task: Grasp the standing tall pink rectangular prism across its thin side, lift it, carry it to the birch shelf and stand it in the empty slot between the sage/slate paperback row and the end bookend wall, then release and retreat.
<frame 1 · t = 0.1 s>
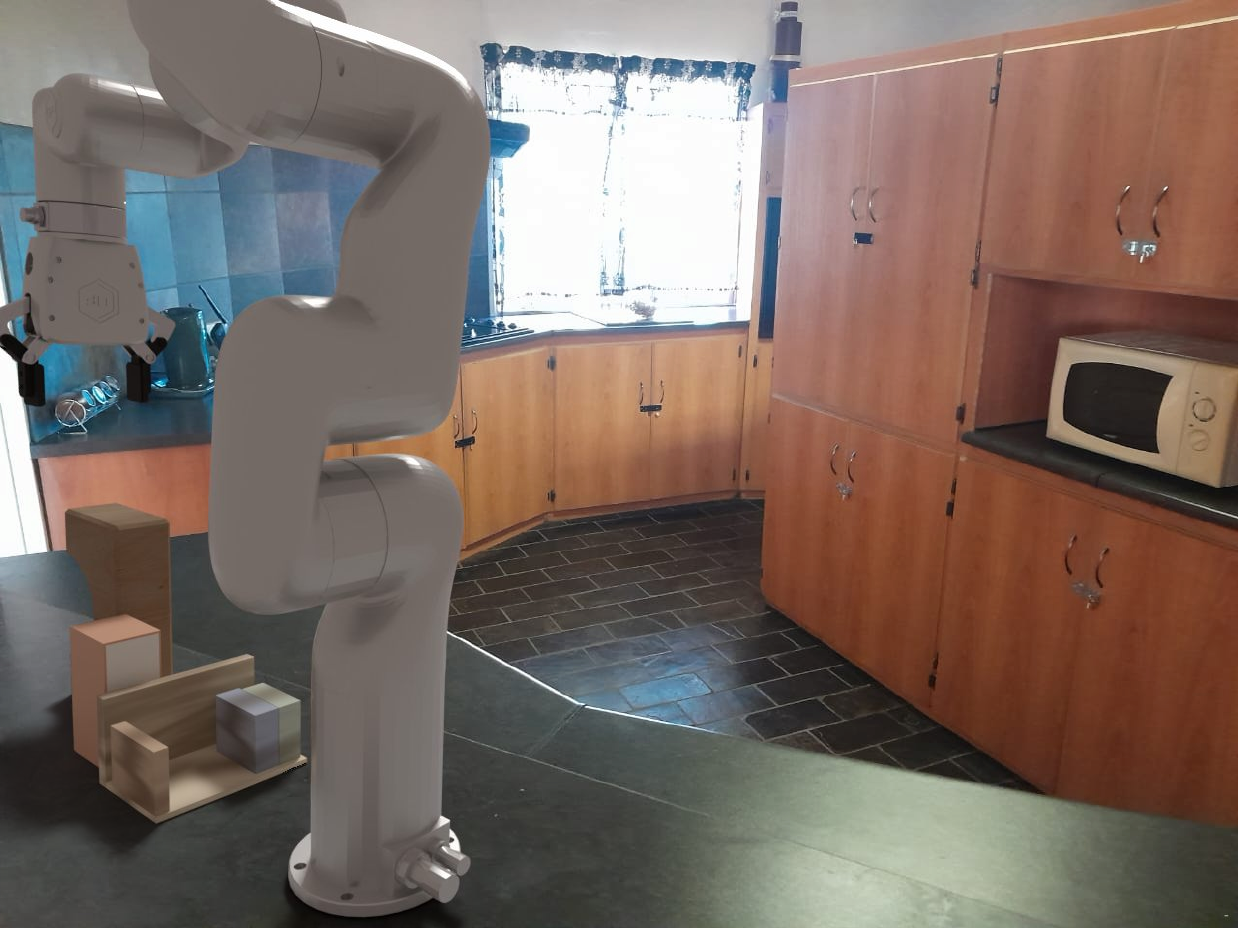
hand: (88, 403, 91), 31 cm above the countertop, fingers open, 9 cm apart
shelf: (213, 773, 82), on the countertop
decorative block: (122, 702, 96), on the countertop
tall pink rectangular prism: (118, 752, 86), on the countertop
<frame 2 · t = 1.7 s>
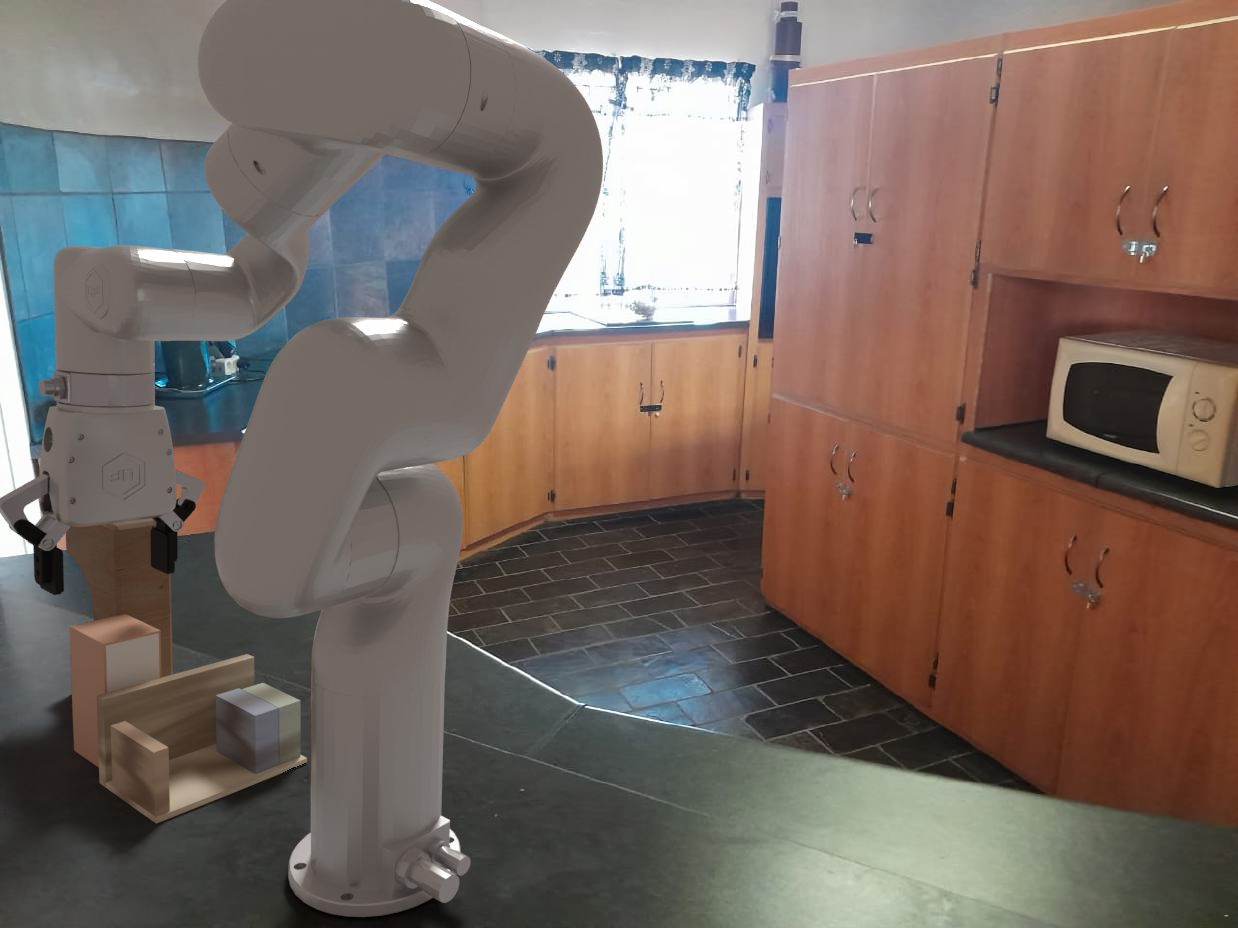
hand: (109, 580, 83), 16 cm above the countertop, fingers open, 9 cm apart
nothing on the countertop moved.
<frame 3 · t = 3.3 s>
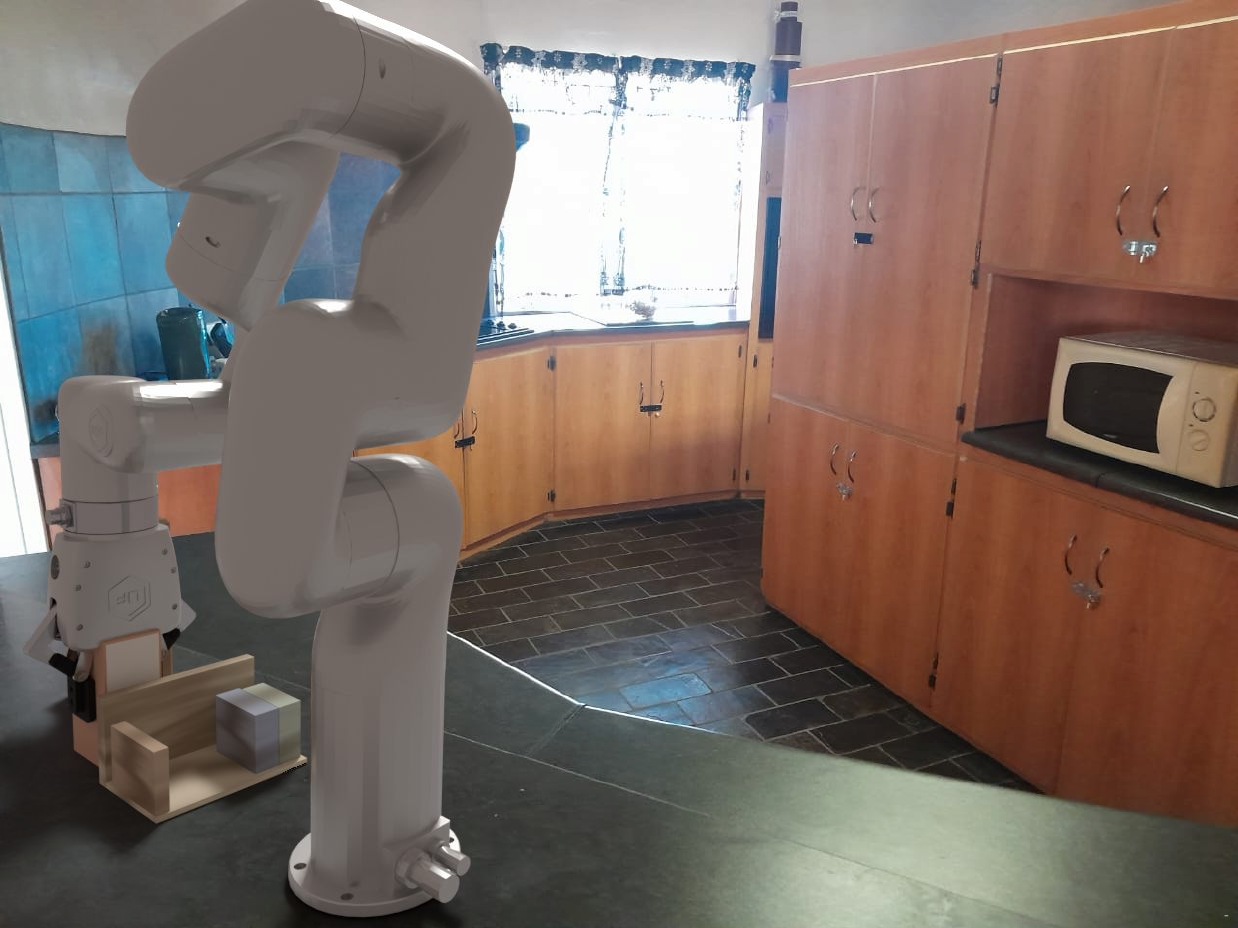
hand: (117, 706, 85), 4 cm above the countertop, fingers closed on tall pink rectangular prism, 5 cm apart
tall pink rectangular prism: (118, 751, 86), on the countertop, touching gripper
everything else where it was.
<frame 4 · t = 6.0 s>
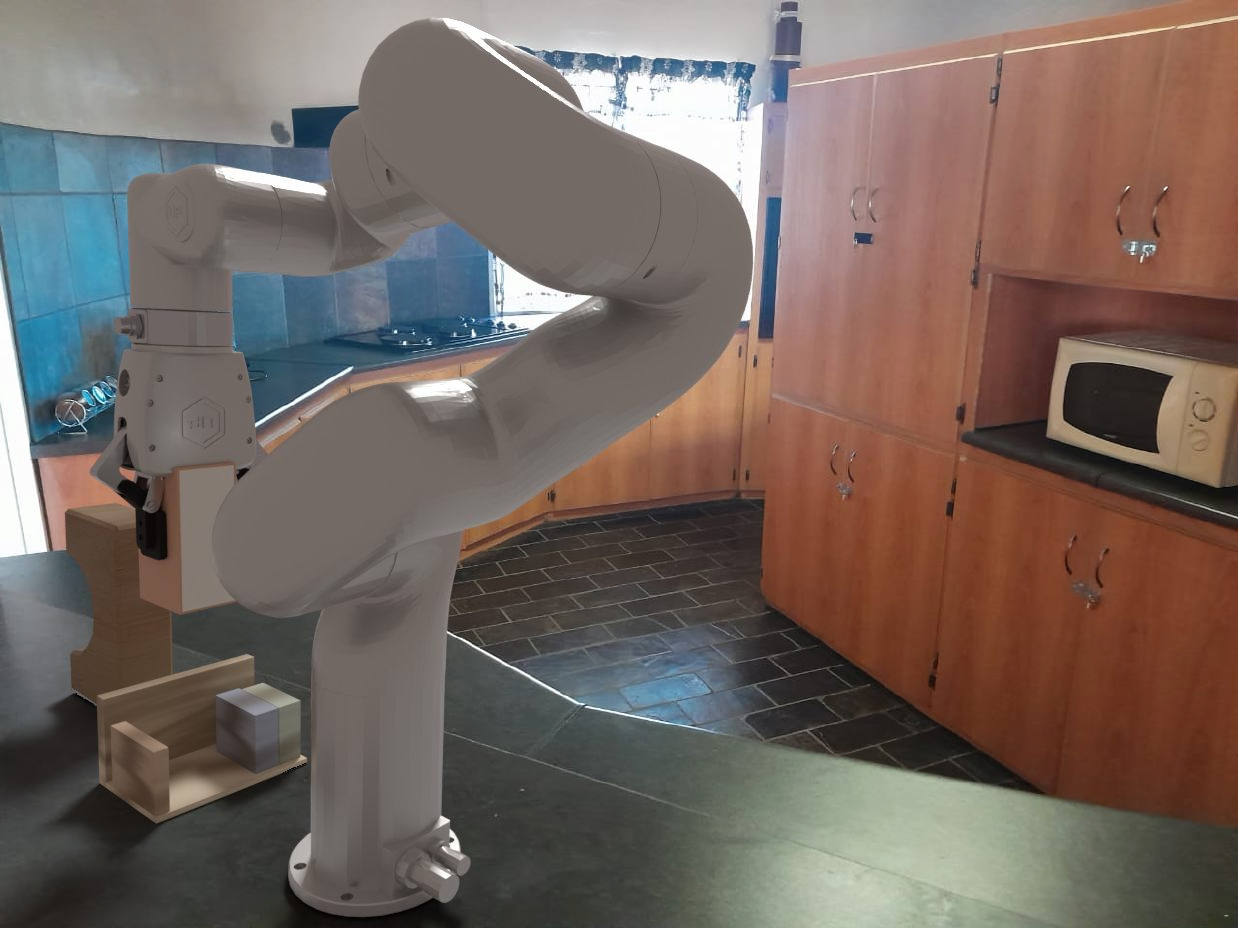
hand: (187, 548, 78), 21 cm above the countertop, fingers closed on tall pink rectangular prism, 5 cm apart
tall pink rectangular prism: (188, 599, 78), point 17 cm above the countertop, touching gripper
everything else where it was.
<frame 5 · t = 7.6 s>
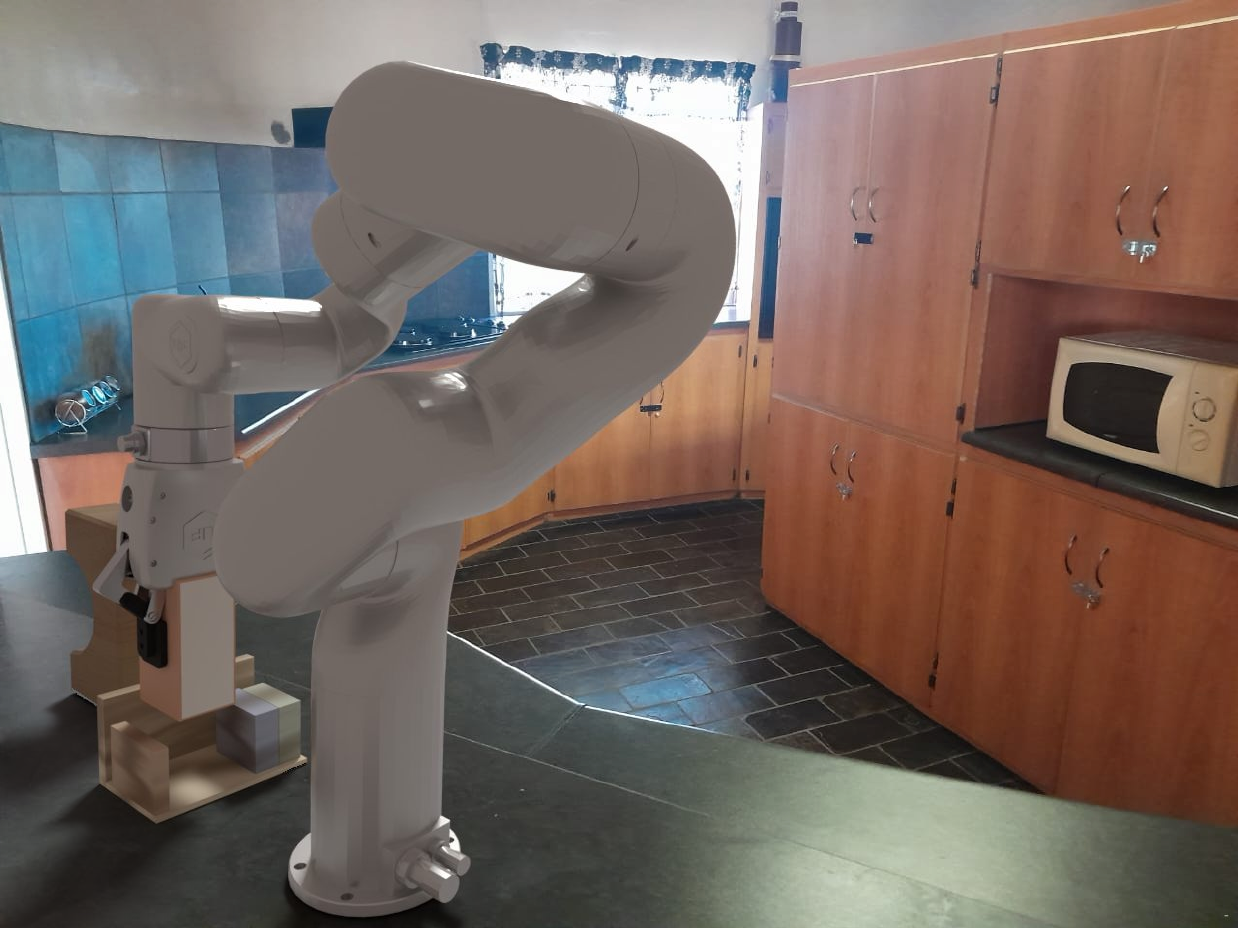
hand: (187, 652, 79), 12 cm above the countertop, fingers closed on tall pink rectangular prism, 5 cm apart
tall pink rectangular prism: (187, 701, 80), point 7 cm above the countertop, touching gripper
everything else where it was.
when the fingers open (7 cm above the countertop, at t = 9.0 s): tall pink rectangular prism drops 2 cm, resting on shelf.
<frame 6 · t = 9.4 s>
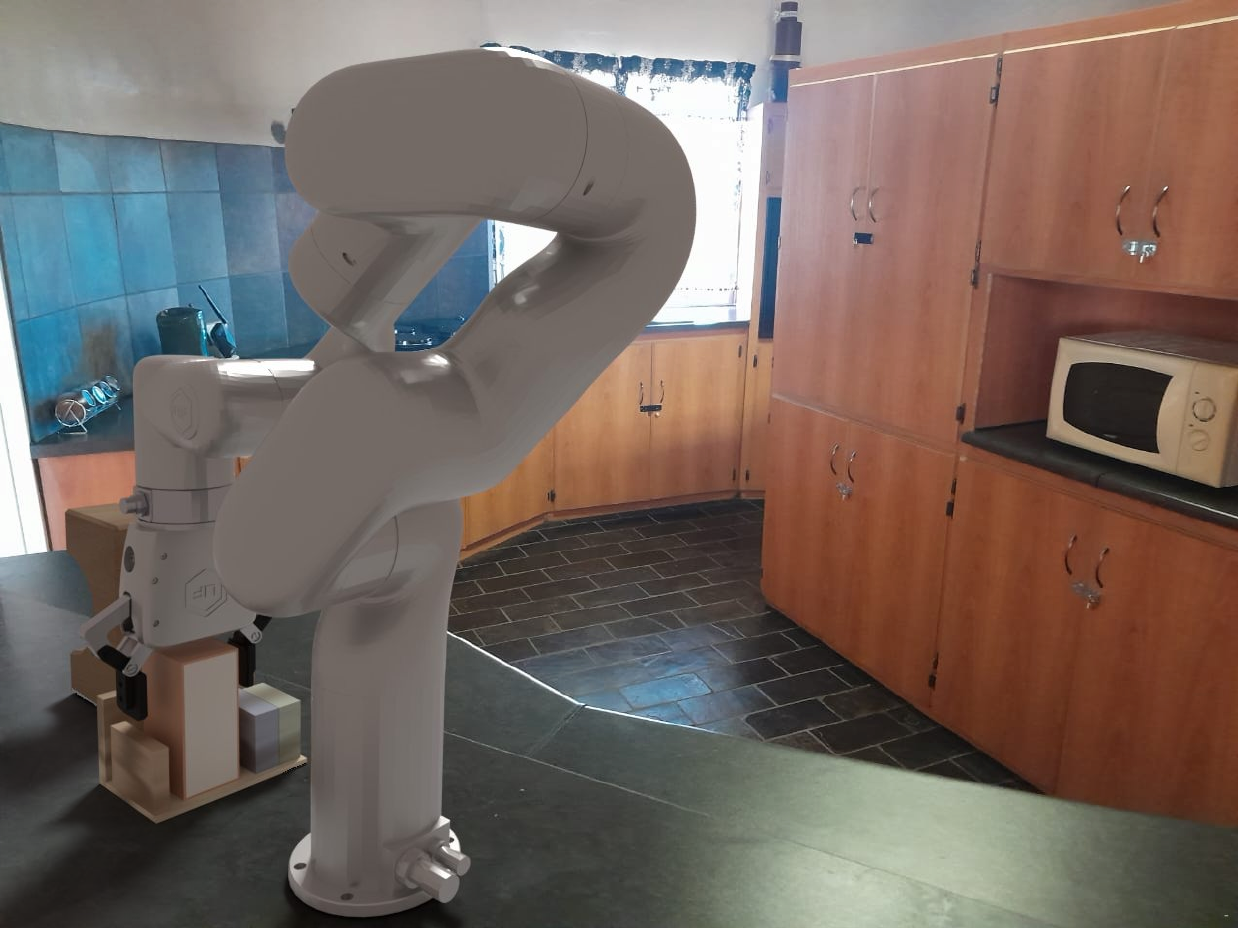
hand: (189, 698, 80), 8 cm above the countertop, fingers open, 9 cm apart
tall pink rectangular prism: (192, 777, 81), resting on shelf
everything else where it was.
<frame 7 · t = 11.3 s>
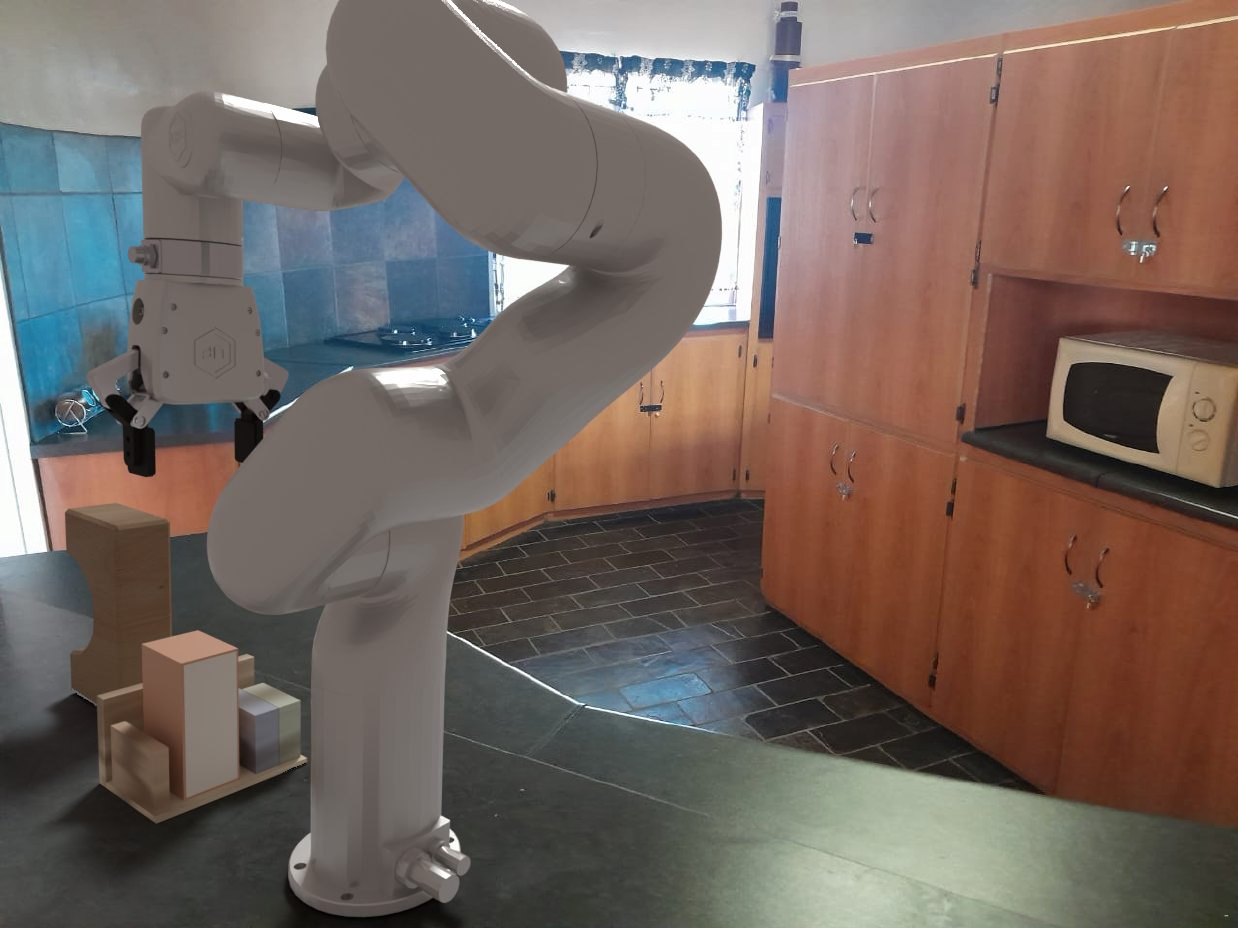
hand: (197, 468, 79), 27 cm above the countertop, fingers open, 9 cm apart
nothing on the countertop moved.
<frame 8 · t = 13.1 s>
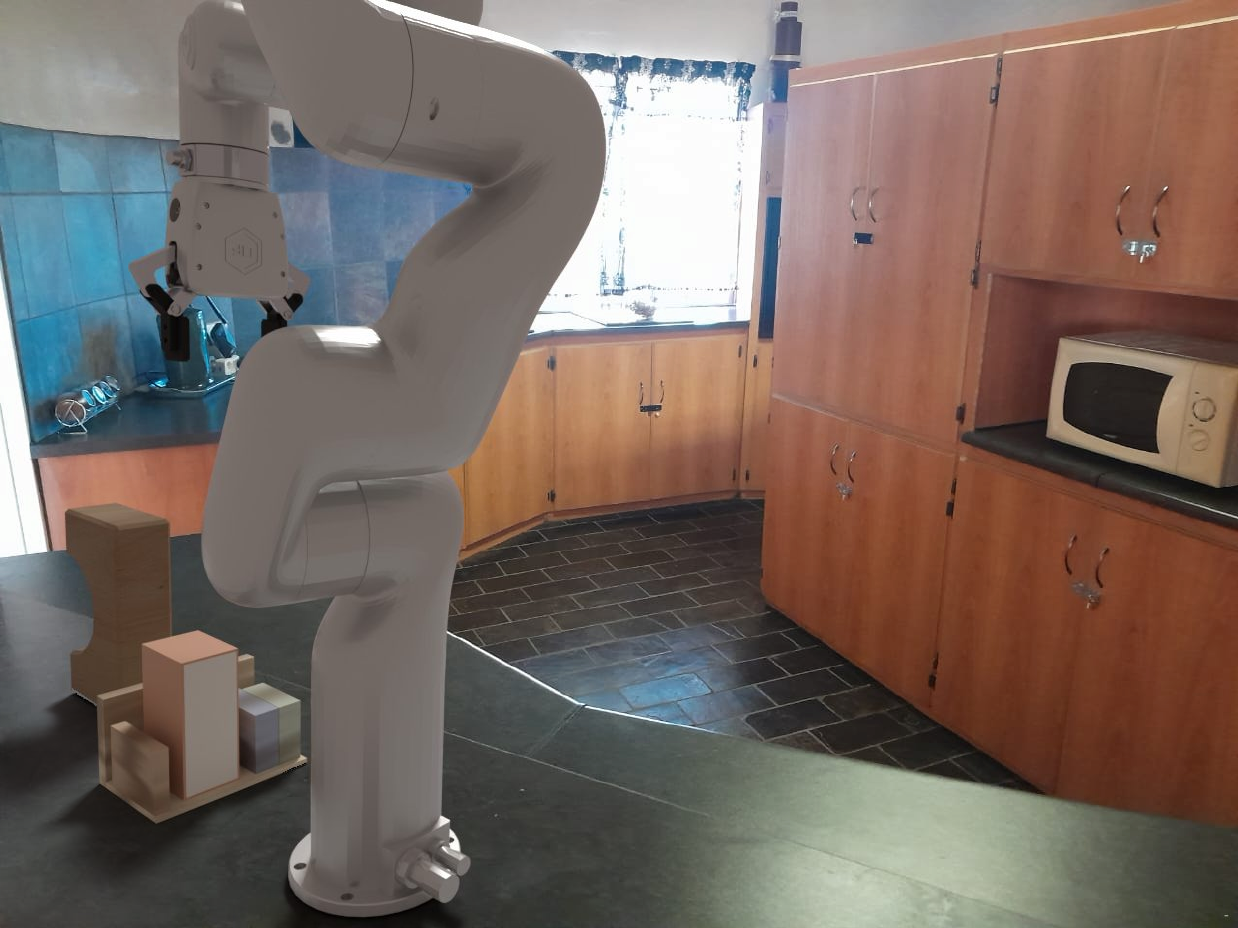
hand: (227, 360, 87), 36 cm above the countertop, fingers open, 9 cm apart
nothing on the countertop moved.
at the end: tall pink rectangular prism 0.1 cm from the target spot, point 0.5 cm above the countertop; tall pink rectangular prism tilted 0°; the gripper is holding nothing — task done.
